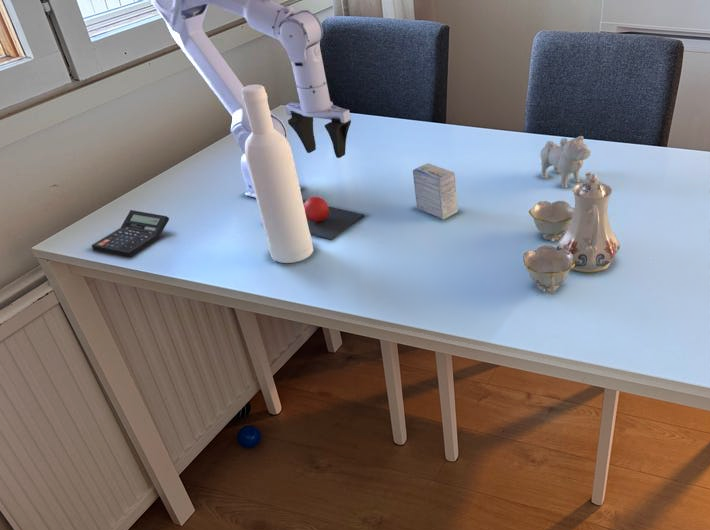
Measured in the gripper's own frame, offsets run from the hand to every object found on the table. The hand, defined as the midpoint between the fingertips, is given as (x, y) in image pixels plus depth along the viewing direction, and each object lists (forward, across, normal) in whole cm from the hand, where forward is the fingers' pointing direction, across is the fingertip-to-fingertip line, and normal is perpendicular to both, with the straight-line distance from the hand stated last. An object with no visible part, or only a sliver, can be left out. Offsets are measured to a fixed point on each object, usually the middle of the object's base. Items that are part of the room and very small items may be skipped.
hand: (326, 153), depth 135 cm
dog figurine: (+12, -40, -29) cm, 51 cm away
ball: (+10, -3, +10) cm, 14 cm away
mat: (+10, -2, +9) cm, 14 cm away
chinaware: (+12, -54, +2) cm, 56 cm away
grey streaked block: (+11, -22, -5) cm, 25 cm away
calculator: (+10, +27, +30) cm, 42 cm away
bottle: (+11, -6, +21) cm, 24 cm away
